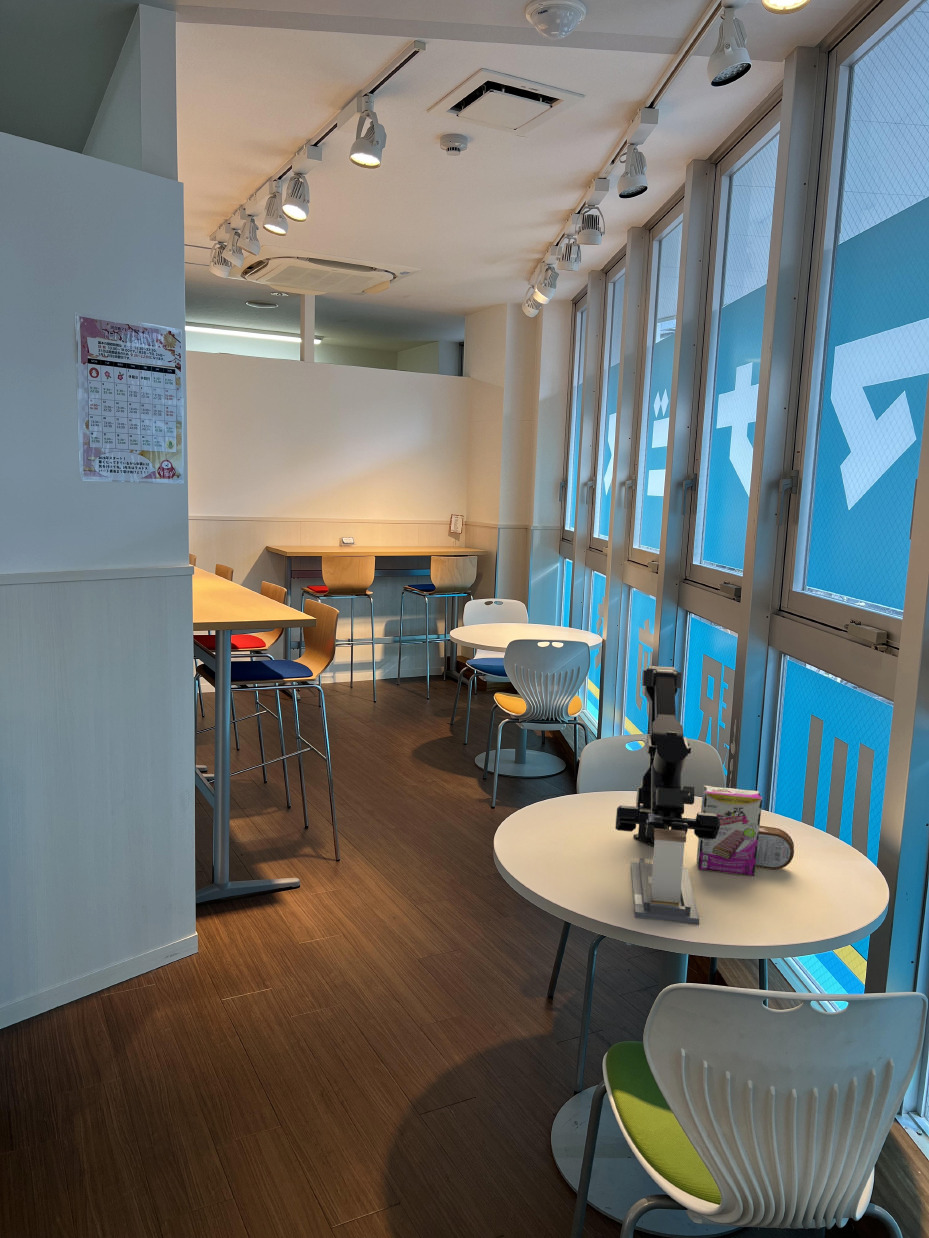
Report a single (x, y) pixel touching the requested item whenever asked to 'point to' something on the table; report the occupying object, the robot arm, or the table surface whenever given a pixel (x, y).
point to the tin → (774, 848)
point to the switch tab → (667, 865)
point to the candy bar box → (731, 831)
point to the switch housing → (661, 909)
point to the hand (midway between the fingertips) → (666, 865)
